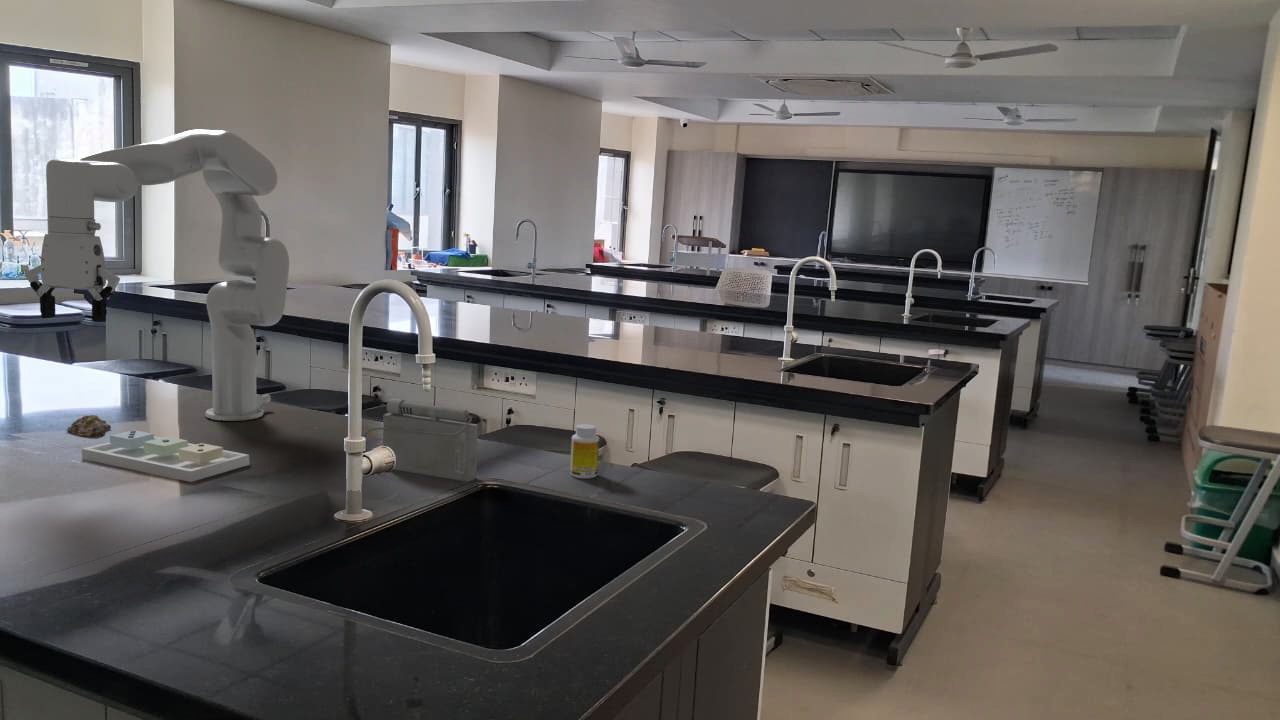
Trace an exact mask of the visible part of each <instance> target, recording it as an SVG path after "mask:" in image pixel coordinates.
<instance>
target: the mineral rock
mask: <svg viewBox="0 0 1280 720" xmlns="http://www.w3.org/2000/svg"><path fill="white" fill-rule="evenodd" d="M111 428H112V426H111V424H108V423H107V421H105V420H104V419H103V420H102V419H100V417H99V416H98V415H96V414H92V415H91V414H90V415H83V417H80V418H78V419H76V420H75V421H73V423H71V424H70V426H67V429H66V432H67V433H70V434H72V435H75V436H78V437H79V436H80V437H89V438H91V437H98V438H99V437H101V436H104V435H106V432H108V431H110V430H111ZM100 435H101V436H100Z"/></svg>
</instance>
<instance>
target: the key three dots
mask: <svg viewBox="0 0 1280 720" xmlns="http://www.w3.org/2000/svg"><path fill="white" fill-rule="evenodd" d="M154 436H155V433H150V432H146V431H140V430H137V429H135V430H134V429H133V430H129V431H124V432H120V433H116V434H110V436H109V441H110V445H111V446H116V447H121V448H126V449H134V448H138V447H143V446H144V442H146V441H150V440H154Z"/></svg>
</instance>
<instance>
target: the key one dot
mask: <svg viewBox="0 0 1280 720" xmlns="http://www.w3.org/2000/svg"><path fill="white" fill-rule="evenodd" d="M188 443H189V441H188V440H186V439H182V438H176V437H171V436H163V437H160V438H159V439H155V440H150V441H146V442H144V452H145V453H150V454H155V455H160V456H168V455H172V454H176V453H179V449H180V448H184V447H188Z"/></svg>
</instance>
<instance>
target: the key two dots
mask: <svg viewBox="0 0 1280 720" xmlns="http://www.w3.org/2000/svg"><path fill="white" fill-rule="evenodd" d="M195 444H196V443H195ZM223 450H224V447H223V446H219V445H213V444H207V443H197V444H196V445H192V446H188V447H184V448H180V449H179V459H180V460H185V461H190V462H195V463H199V464H201V463H204V462H208V461H212V460H215V459H219V458H222V457H223Z"/></svg>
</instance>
